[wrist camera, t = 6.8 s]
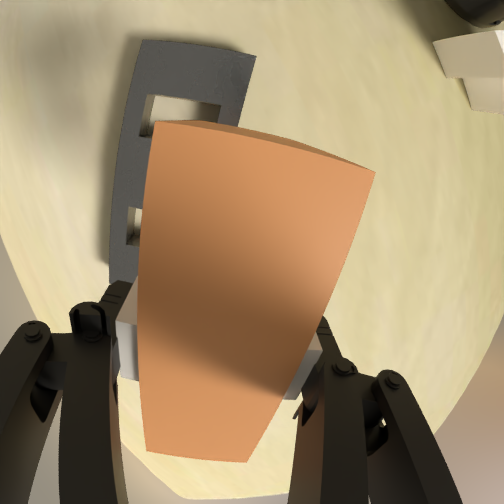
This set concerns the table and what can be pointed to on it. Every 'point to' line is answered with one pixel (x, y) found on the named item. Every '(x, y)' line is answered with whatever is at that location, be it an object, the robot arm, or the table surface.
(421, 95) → the table surface
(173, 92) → the gray slotted base board
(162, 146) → the clip
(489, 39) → the corner bracket
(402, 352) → the table surface
